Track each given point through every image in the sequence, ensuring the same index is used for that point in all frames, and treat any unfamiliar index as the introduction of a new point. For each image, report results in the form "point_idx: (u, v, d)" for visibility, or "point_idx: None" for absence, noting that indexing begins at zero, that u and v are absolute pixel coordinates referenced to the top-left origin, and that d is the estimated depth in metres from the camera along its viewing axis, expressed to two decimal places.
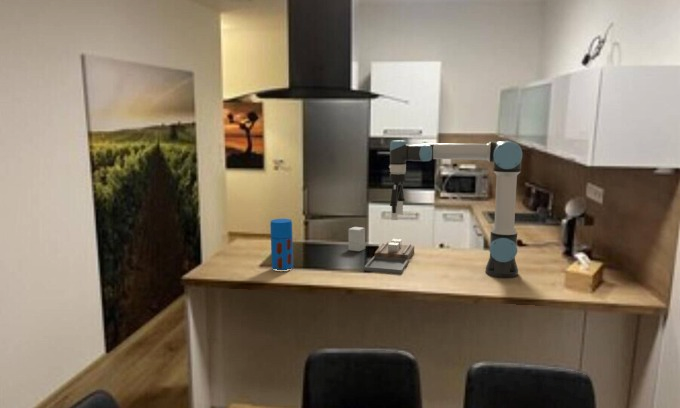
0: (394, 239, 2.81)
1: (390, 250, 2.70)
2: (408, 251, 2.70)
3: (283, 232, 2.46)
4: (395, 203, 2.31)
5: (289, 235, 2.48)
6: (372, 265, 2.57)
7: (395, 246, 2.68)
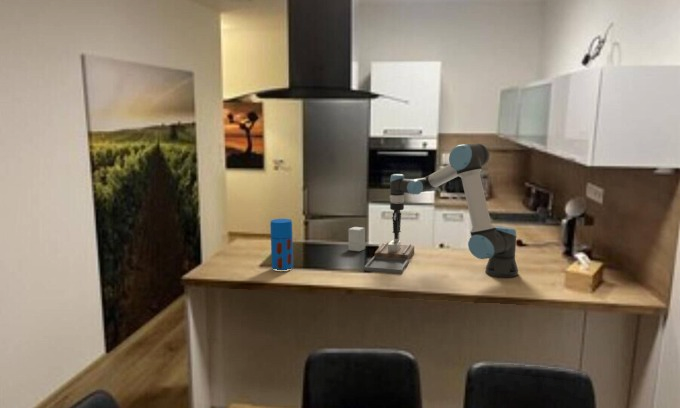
0: (393, 240, 2.78)
1: (390, 250, 2.69)
2: (408, 251, 2.70)
3: (283, 232, 2.46)
4: (397, 231, 2.74)
5: (289, 235, 2.48)
6: (372, 265, 2.57)
7: (395, 246, 2.68)
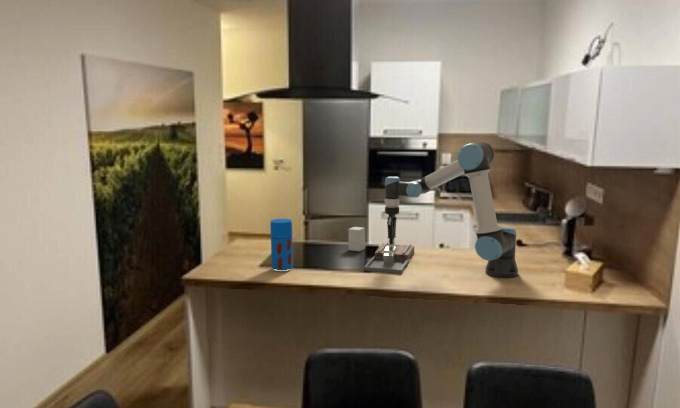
0: (387, 246, 2.65)
1: None
2: (408, 251, 2.70)
3: (283, 232, 2.46)
4: (392, 237, 2.62)
5: (289, 235, 2.48)
6: (372, 265, 2.57)
7: None
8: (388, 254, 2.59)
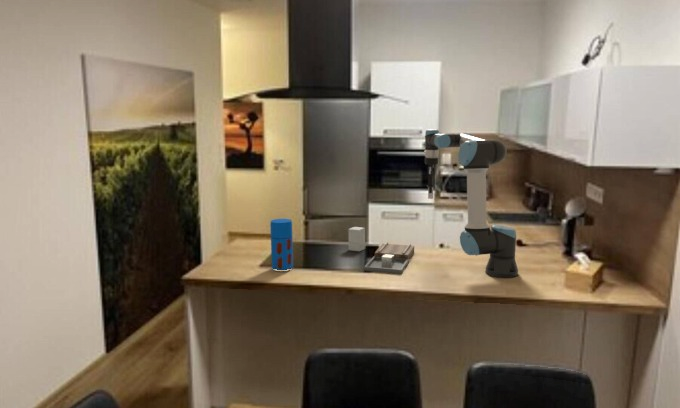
0: (386, 254, 2.62)
1: None
2: (408, 251, 2.70)
3: (283, 232, 2.46)
4: (431, 185, 2.82)
5: (289, 235, 2.48)
6: (372, 265, 2.57)
7: None
8: (386, 256, 2.55)
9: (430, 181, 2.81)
